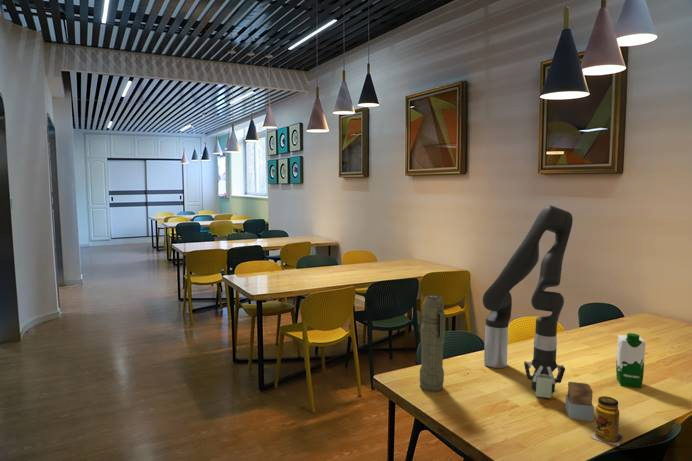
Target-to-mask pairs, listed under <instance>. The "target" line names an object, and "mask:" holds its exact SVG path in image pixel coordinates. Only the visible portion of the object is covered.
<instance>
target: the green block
mask: <svg viewBox="0 0 692 461" xmlns="http://www.w3.org/2000/svg"><path fill="white" fill-rule="evenodd" d="M534 393H535V396H536V397H539V398H547V399H548V398H549V399H552V395H553V394H552V378H550V376H549V375H546V374H540V375H539V377H537V380H536V392H534Z"/></svg>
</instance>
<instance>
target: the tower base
mask: <svg viewBox="0 0 692 461" xmlns="http://www.w3.org/2000/svg"><path fill="white" fill-rule="evenodd" d="M564 409H565V411H566V413H567V416H568V418H569V419H572V420H580V421H589V422H594V416H595V415H594V414H595V413H594V412H595V406H594V404H593V403H592V406H587V405H579V404H571V402H570V399H569V397H568V394H565V407H564Z"/></svg>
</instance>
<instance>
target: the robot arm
mask: <svg viewBox="0 0 692 461" xmlns="http://www.w3.org/2000/svg"><path fill="white" fill-rule="evenodd" d="M573 220H574V219H573V215H572V213H570V212H569V211H567V210H564V209H562V208H560V207H557V206H553V205H545V207H543V208H542V209H541V210H540V212H539V213H538V215H537V216H536V219H535V220H534V222H533V223H532V225H531V227H530V229H529V231H528V233H527V234H526V235H525V237H524V239H523V240H522V242H521V243H520V245H518V247H517V249H516V250H515V252H514V253H513V254H512V255H511V257H510V258H509V260H508V262H507V263H506V265H505V266H504V267H503V269H502V270H501V271H500V274H498V277H497V278H496V279H495V280H494V281H493V283H492V284H491V285H490V286H489V287H488V288H487V289H486V290H485V291H484V293H483V295H482V304H483V306H484V308H485V309H486V310H488V311H490V313H489V314H488V315H487V316H486V318H485V330H484V331H485V332H484V335H485V336H484V349H483V350H484V351H483V356H484V357H483V363H484V366H487V367H489V368H493V369H503V368H504V369H505V368H507V366H508V345H509V344H508V342H509V340H508V339H509V322H510V320H511V317H512V307H513V306H512V305H513V297H512V294H511V290H512V289H513V288H514V287H516V286H517V285H518V284H519V283H520V282H522V281H523V280H524V279H526V277H527V276H529V274H530V273H531V272H532V271H533V270H534V269H535V267H536V266H537V264H538V262H539V257H540V241H541V239H542V237H543V235H544V233H545V232H546V231H548V232H551V233H554V234H555V237H554V241H553V242H554V243H553V244H552V246H551V248H550V249H549V250H548V251H547V252H546V254H544V256H543V258H542V261H541V263H540V268H539V269H540V270H539V277H538V282H537V285H536V287H535V289H534V292H533V294H532V296H531V299H530V300H531V302H530V303H531V306H532V307H533V309H534V310H537V311H543V312H551V313H550V315H543V316H538V317H537V318H535V331H534V332H535V333H534V337H533V339H534V340H533V356H532V357H533V358H532V360H531V361H526V360H525V361H524V362H523V365H524V369H525V375H526V378H527V380H528V381H531V384H530V385H531V386H530V387H531V389H532V391H533V392H534V393H535V392H536V380H537V377H539V375H540V374H546V375H549V376H550V378H552V394H551V395H553V393H555V388H556V385H557V384H561V382H562V380H563V378H564V374H565V371H566V368H565V366H564V365H562V364H561V365H560V364H558V363H557V350H558V348H557V347H558V338H557V335H558V332H557V331H558V330H557V329H558V321H559V318H560V315H561V312H562V309H563V307H564V305H565V299H564V296H563V295H562V294H561V293H560V292H556V291H548V290H546V289H547V288H554V287H557V286H560V283H561V279H562V268H563V261H564V257H565V252H566V250H567V246H568V243H569V239H570V236H571V231H572V227H573V222H574V221H573ZM532 367H533V368H534V370H533V374H532V375H531V373H530V372H531V371H530V369H531V368H532ZM555 370H557V371H558V373H557V375H556V377H554V374H553V372H554V371H555Z"/></svg>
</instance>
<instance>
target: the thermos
mask: <svg viewBox="0 0 692 461" xmlns="http://www.w3.org/2000/svg"><path fill="white" fill-rule="evenodd" d="M444 307H445V306H444V300H443V297H441V296H440V295H437V294H428V295H425V297H424V299H423V303H422V307H421V314H420V320H421V322H420V343H421V364H420V365H421V366H420V367H419V388H420V389H421V390H422V391H424V392H428V393H439V392H442V391H443V390H444V381H445V380H444V378H445V371H444V368H443V364H444V363H443V362H444V360H443V359H444V345H445V340H446V338H445V337H446V333H445V332H446V317H447V316H446V312H445V311H444V309H445V308H444Z"/></svg>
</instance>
